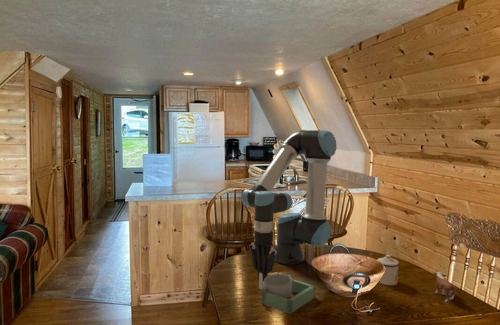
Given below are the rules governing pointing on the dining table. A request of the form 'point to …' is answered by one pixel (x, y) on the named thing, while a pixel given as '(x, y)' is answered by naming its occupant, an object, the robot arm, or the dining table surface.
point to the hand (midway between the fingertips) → (262, 287)
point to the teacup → (279, 284)
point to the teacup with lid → (389, 270)
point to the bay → (292, 304)
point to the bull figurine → (444, 286)
